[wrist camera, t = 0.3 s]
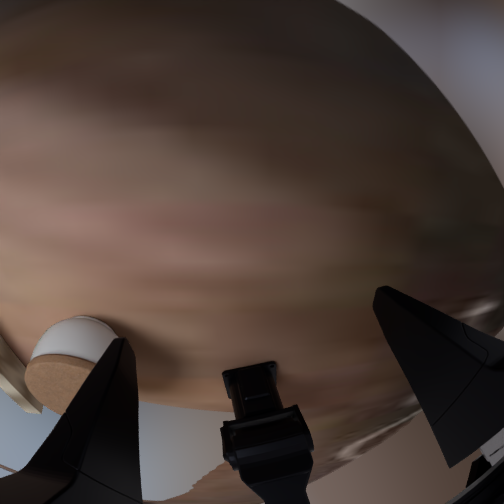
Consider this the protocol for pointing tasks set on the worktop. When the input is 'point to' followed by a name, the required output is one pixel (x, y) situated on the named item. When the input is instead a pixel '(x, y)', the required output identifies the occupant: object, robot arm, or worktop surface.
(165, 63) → the worktop surface
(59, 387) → the lidded jar
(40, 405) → the board
